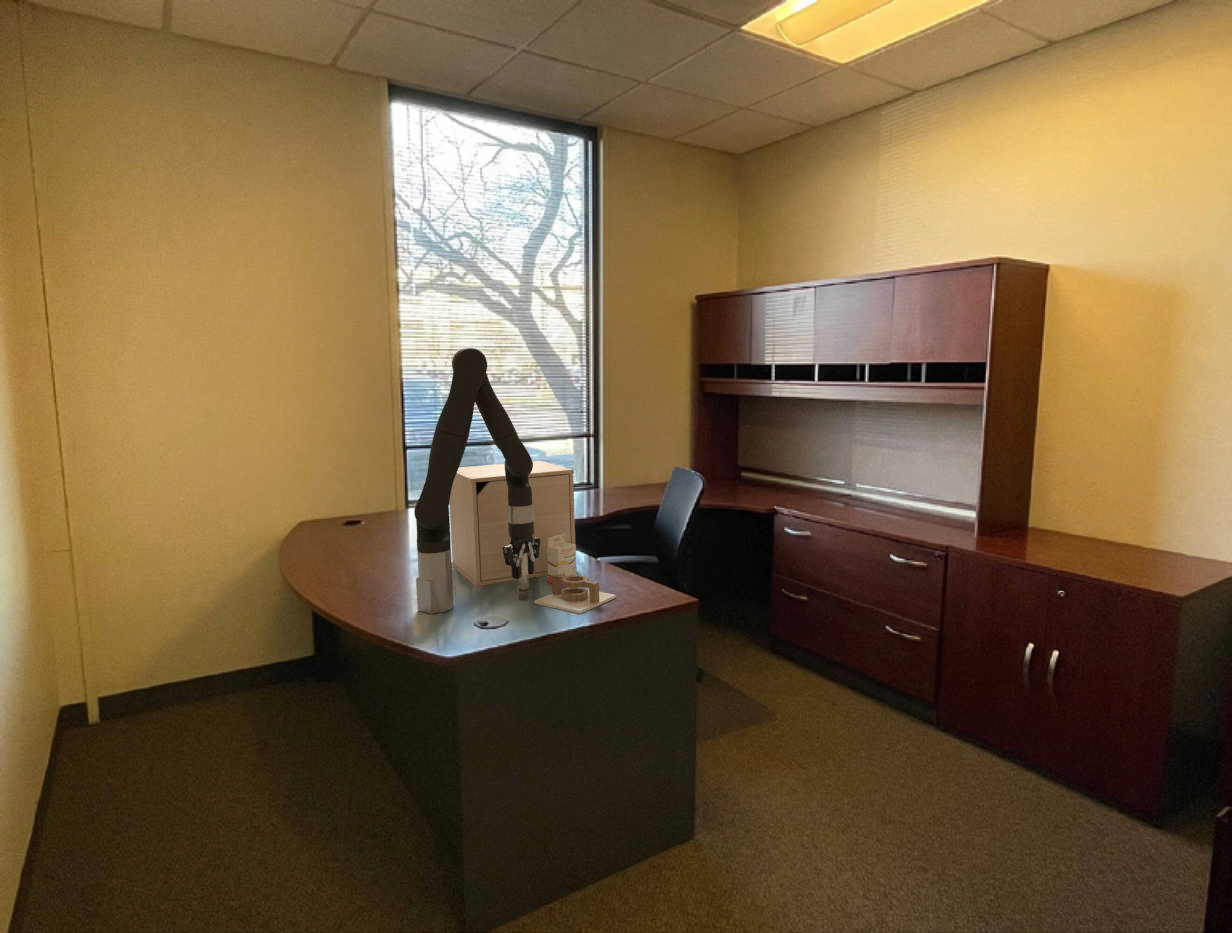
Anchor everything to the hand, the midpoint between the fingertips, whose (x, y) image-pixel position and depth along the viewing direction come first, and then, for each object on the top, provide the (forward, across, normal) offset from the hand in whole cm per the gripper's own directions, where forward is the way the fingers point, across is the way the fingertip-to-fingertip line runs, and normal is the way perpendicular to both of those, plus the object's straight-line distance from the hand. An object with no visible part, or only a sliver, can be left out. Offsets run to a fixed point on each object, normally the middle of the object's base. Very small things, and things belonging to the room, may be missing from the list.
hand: (523, 575), depth 213 cm
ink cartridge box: (+7, -20, -2) cm, 21 cm away
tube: (+7, 0, 0) cm, 7 cm away
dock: (+7, -7, +14) cm, 17 cm away
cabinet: (+7, -23, -27) cm, 36 cm away
